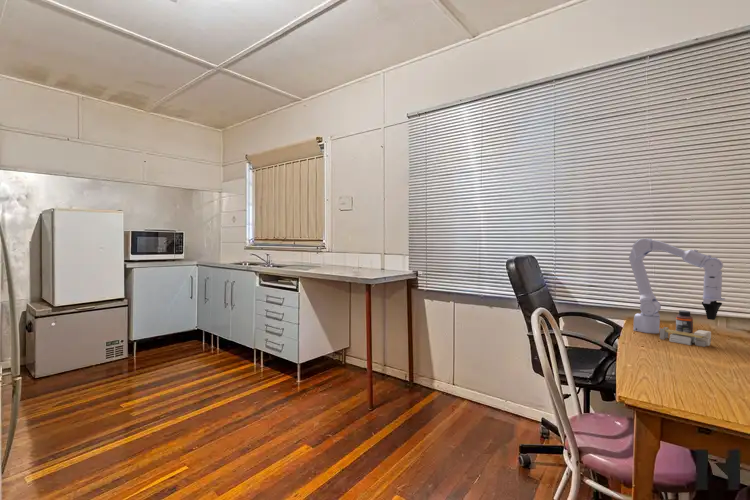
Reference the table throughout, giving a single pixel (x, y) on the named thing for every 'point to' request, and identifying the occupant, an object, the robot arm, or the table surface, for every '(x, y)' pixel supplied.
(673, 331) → the strap
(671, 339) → the heatsink
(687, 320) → the supplement bottle
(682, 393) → the table surface
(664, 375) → the table surface
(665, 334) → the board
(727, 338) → the table surface
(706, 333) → the white l-shaped block
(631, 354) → the table surface
